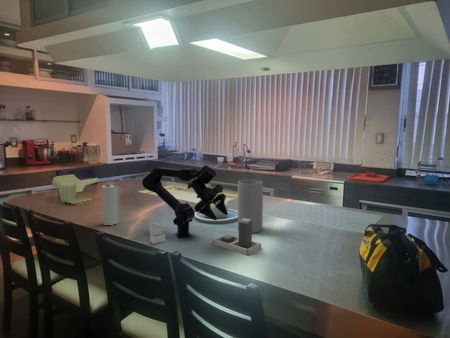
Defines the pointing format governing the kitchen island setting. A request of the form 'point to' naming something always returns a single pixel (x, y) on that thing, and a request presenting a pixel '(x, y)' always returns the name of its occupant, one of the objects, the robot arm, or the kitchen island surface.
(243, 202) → the cylinder vase
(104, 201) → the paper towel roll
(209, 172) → the robot arm
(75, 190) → the pale green plastic piece
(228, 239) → the beige divided rectangular frame
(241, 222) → the iec plug
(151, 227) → the white angled block
